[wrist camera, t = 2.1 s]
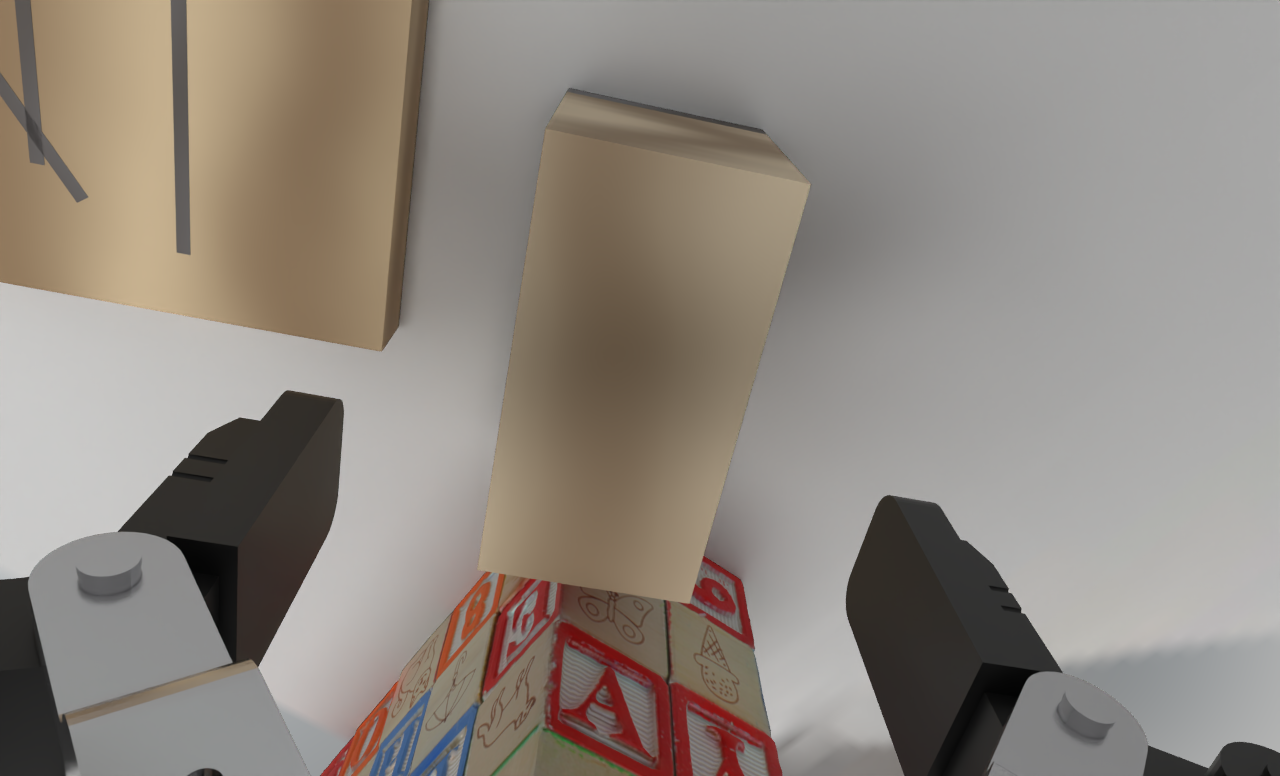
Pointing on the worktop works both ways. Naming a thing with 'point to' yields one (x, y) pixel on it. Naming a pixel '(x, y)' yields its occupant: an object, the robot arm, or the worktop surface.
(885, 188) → the worktop surface
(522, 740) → the stack of blocks
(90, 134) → the board
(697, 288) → the block
